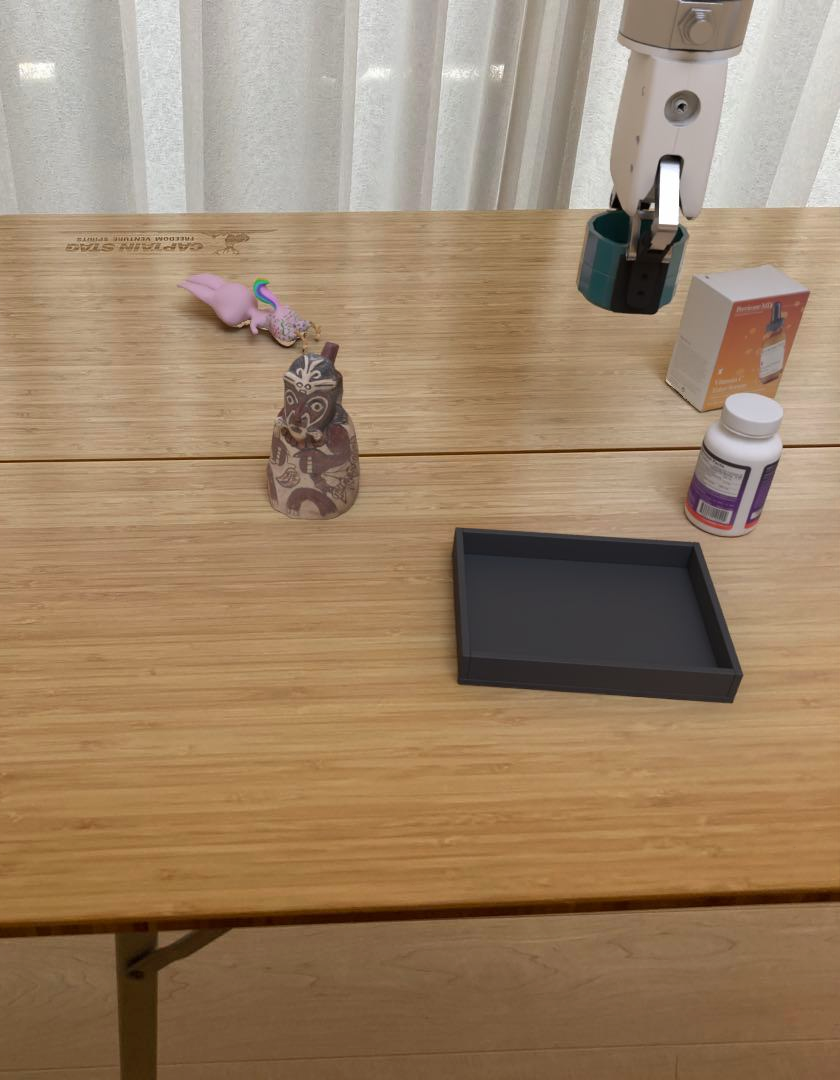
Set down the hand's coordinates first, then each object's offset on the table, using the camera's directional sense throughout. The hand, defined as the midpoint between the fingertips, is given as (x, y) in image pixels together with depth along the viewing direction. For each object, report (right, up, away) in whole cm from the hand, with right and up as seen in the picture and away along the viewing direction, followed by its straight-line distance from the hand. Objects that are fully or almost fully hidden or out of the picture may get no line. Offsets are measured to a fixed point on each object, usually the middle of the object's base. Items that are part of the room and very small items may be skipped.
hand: (625, 285), depth 79 cm
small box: (+14, -5, +20) cm, 25 cm away
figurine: (-22, -15, +6) cm, 27 cm away
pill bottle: (+9, -17, +5) cm, 19 cm away
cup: (0, -1, 0) cm, 1 cm away
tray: (-4, -24, -5) cm, 25 cm away
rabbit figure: (-28, +2, +27) cm, 39 cm away
